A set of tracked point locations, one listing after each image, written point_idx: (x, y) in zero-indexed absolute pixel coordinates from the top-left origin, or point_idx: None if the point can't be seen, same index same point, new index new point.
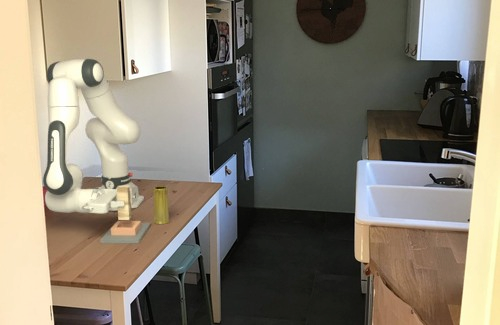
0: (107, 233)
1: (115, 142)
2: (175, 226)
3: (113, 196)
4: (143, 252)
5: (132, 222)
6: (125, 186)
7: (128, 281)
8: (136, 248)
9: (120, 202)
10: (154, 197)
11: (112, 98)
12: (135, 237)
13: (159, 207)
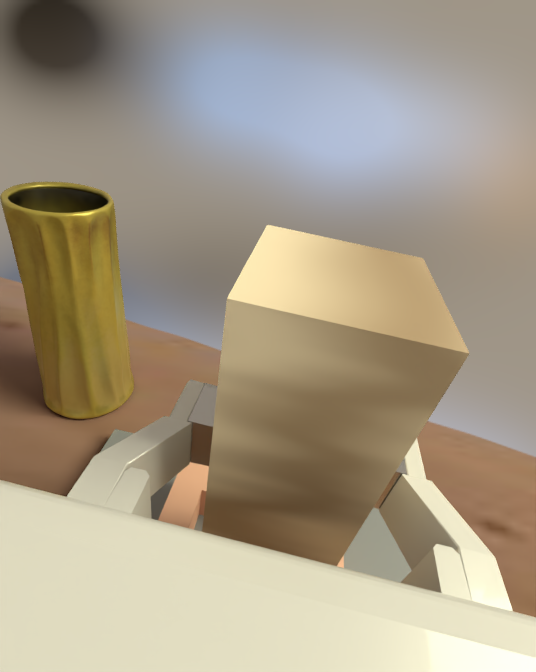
0: None
1: None
2: (186, 354)
3: (264, 559)
4: (514, 492)
5: (191, 516)
6: (307, 256)
7: None
8: (479, 524)
9: (418, 470)
10: (67, 283)
11: None
12: (366, 520)
13: (118, 323)
